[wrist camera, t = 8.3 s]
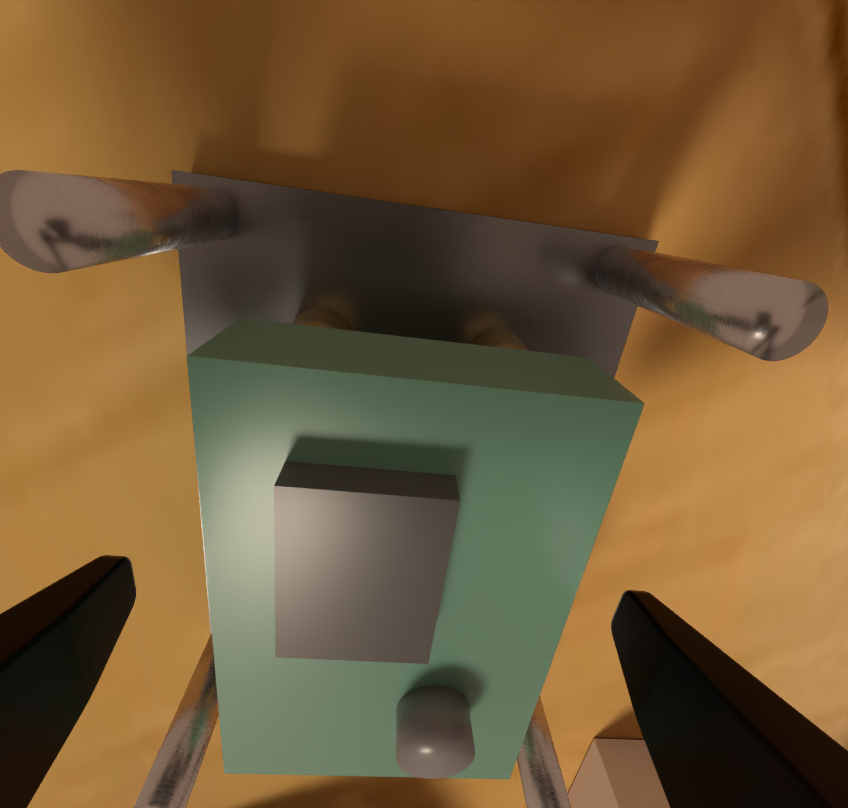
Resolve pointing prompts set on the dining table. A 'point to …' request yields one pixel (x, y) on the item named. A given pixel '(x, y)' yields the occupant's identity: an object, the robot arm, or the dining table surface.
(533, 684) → the board
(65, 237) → the chassis
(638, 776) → the white rectangular block
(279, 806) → the dining table surface
